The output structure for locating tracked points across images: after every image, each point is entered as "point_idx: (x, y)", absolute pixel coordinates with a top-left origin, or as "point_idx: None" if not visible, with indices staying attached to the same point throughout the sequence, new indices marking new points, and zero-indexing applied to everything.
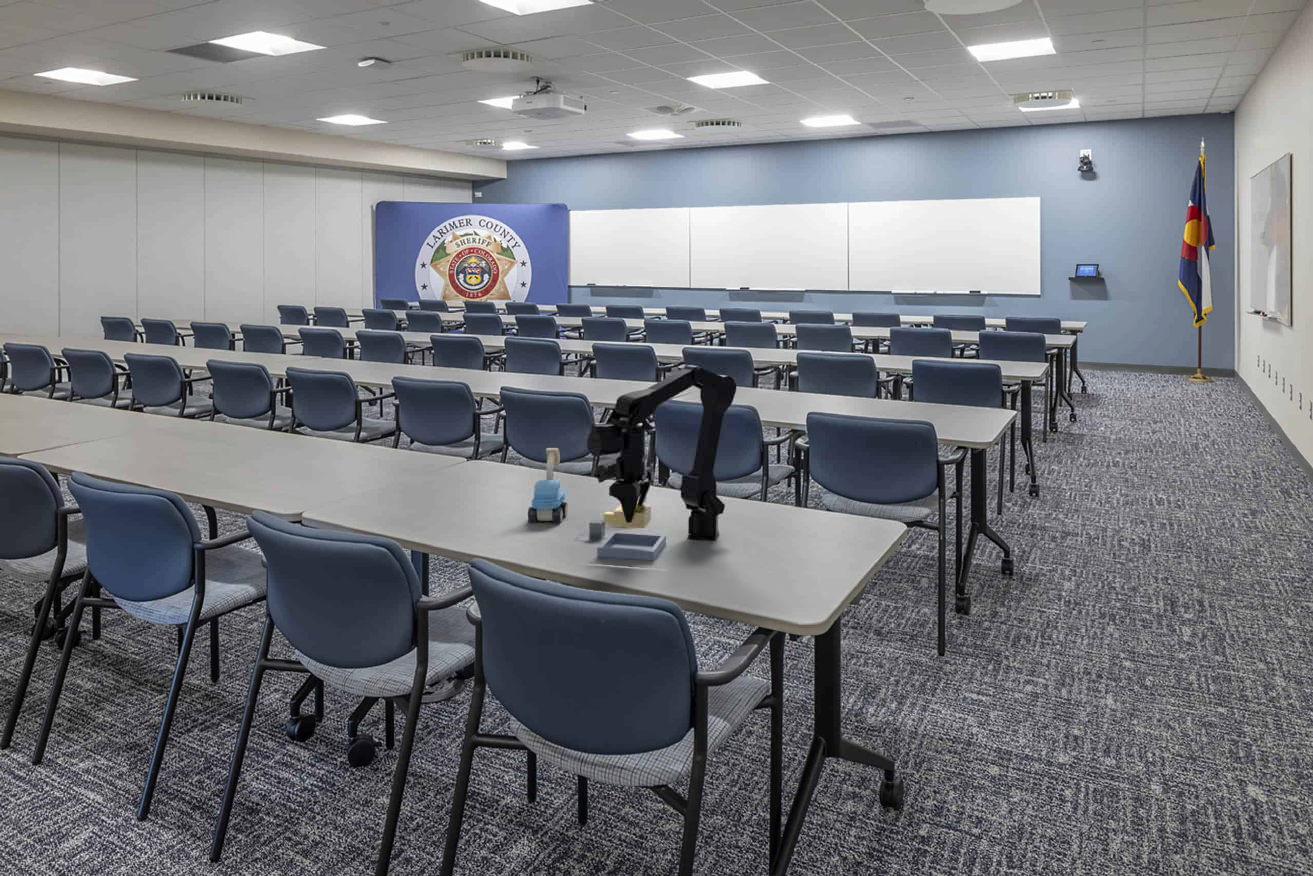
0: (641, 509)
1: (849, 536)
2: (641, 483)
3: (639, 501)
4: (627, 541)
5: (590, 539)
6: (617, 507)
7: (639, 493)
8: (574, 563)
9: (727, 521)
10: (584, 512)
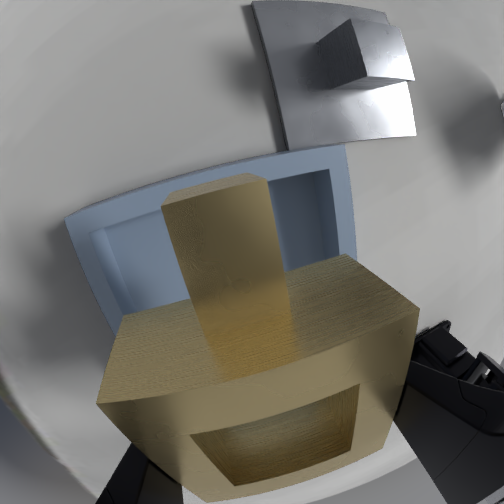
0: (277, 479)
1: (411, 450)
2: (490, 495)
3: (410, 425)
4: (321, 220)
5: (290, 54)
6: (259, 372)
7: (446, 459)
8: (9, 169)
9: (486, 324)
10: (477, 14)
